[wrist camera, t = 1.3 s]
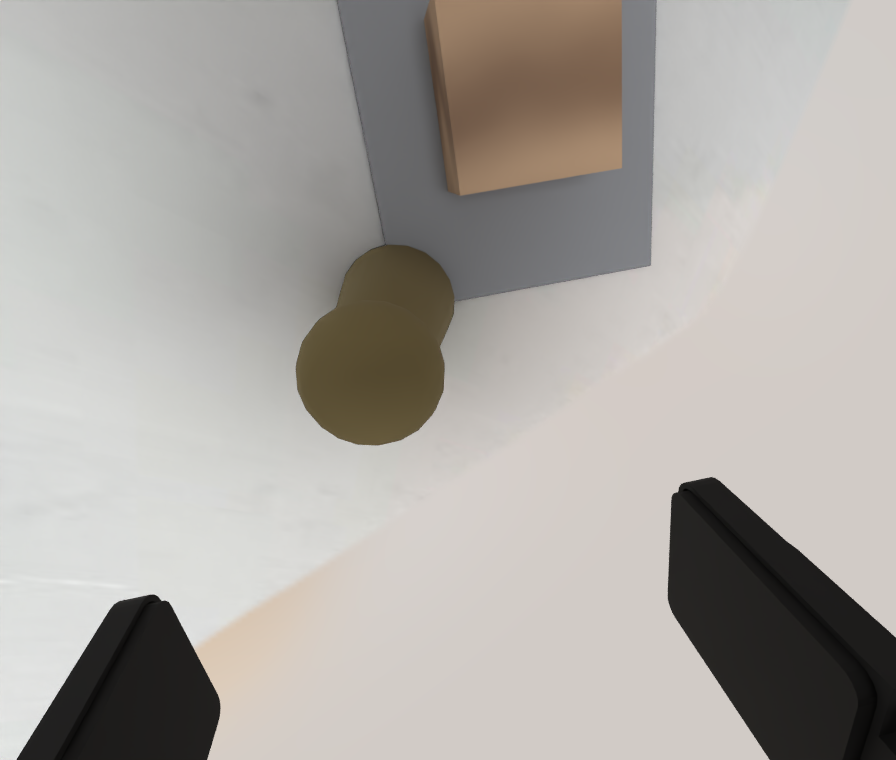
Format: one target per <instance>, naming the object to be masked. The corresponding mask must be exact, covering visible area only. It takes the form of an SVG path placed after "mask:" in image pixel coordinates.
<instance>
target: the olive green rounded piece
mask: <svg viewBox="0 0 896 760" xmlns="http://www.w3.org/2000/svg"><path fill="white" fill-rule="evenodd" d="M454 298H455V297H454V293H453V289H452V286H451V282H450V279H449V278H448V276H447V275H446V273H445V271H444V270H443V268H442V267H441V265H440V264H439V263H438V262H436V261H435V260H434V259H433V258H431V257H430V256H429V255H428V254H426V253H425V252H423V251H420V250H418V249H415V248H412V247H410V246H405V245H386V246H382V247H378V248H375V249H371V250H370V251H368V252H367V253H365V254H364V255H362V256H361V257H359V258H358V259H357V260H356V261H355V262H354V263H353V265H352V266H351V268H350V269H349V270H348V272H347V273H346V275H345V278H344V282H343V285H342V288H341V292H340V295H339V299H338V303H337V306H336V308H335V309H334V310H332V311H331V312H329V313H328V314H326V315H325V316H323V317H322V318H320V319H319V320H318V321H317V323H316V324H315V325H314V326H313V328H312V329H311V330H310V332H309V333H308V335H307V336H306V337H305V339H304V340H303V342H302V344H301V348H300V352H299V355H298V359H297V363H296V378H297V389H298V392H299V395H300V397H301V399H302V401H303V404H304V406H305V408H306V410H307V411H308V412H309V413H310V414H311V416H312V417H313V418H314V419H315V420H316V421H317V423H318V424H319V425H320V426H321V427H322V428H323V429H325V430H327V431H328V432H330V433H331V434H333V435H334V436H336V437H337V438H339V439H342V440H345V441H348V442H352V443H355V444H358V445H382V444H386V443H391V442H395V441H399V440H402V439H404V438H405V437H407V436H409V435H411V434H412V433H414V432H416V431H418V430H419V429H420V428H421V427H422V426H423V424H424V423H425V422H426V421H427V420H428V419H429V418H430V417H431V416H432V414H433V413H434V411H435V410H436V407H437V405H438V402H439V400H440V398H441V395H442V393H443V389H444V360H443V357H442V353H441V350H440V345H441V343H442V341H443V338H444V336H445V334H446V332H447V329H448V327H449V324H450V322H451V320H452V317H453V315H454Z"/></svg>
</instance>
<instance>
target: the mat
mask: <svg viewBox="0 0 896 760" xmlns="http://www.w3.org/2000/svg"><path fill="white" fill-rule="evenodd" d="M429 1H430V0H337V2H338V7H339V12H340V17H341V23H342V28H343V33H344V38H345V43H346V48H347V53H348V58H349V63H350V68H351V73H352V78H353V83H354V88H355V93H356V98H357V103H358V108H359V113H360V118H361V123H362V128H363V133H364V138H365V143H366V148H367V153H368V158H369V163H370V168H371V173H372V178H373V183H374V188H375V193H376V198H377V203H378V208H379V213H380V218H381V223H382V229H383V234H384V239H385V244H386V245H405V246H410V247H412V248H415V249H418V250H420V251H423V252H425V253H426V254H428V255H429V256H430V257H431V258H433V259H434V260H435V261H436V262H438V263H439V264H440V265H441V267H442V268H443V270H444V271H445V273H446V275H447V276H448V278H449V279H450V282H451V286H452V289H453V293H454V297H455V298H454V302H455V301H460V300H466V299H471V298H477V297H482V296H488V295H493V294H498V293H504V292H509V291H515V290H520V289H526V288H531V287H537V286H542V285H548V284H553V283H559V282H564V281H570V280H575V279H580V278H586V277H591V276H597V275H602V274H608V273H613V272H619V271H624V270H630V269H635V268H641V267H646V266H651V231H652V185H653V138H654V92H655V45H656V0H622V168H620V169H614V170H608V171H602V172H596V173H590V174H584V175H579V176H573V177H567V178H561V179H555V180H549V181H543V182H538V183H532V184H526V185H520V186H514V187H508V188H502V189H497V190H491V191H485V192H479V193H473V194H467V195H461V196H460V195H457V194H454V193H451V192H448V187H447V180H446V173H445V166H444V159H443V152H442V145H441V138H440V130H439V123H438V116H437V109H436V102H435V95H434V88H433V81H432V74H431V67H430V60H429V52H428V45H427V38H426V31H425V24H424V18H425V14H426V11H427V8H428V4H429Z"/></svg>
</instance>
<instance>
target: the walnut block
mask: <svg viewBox="0 0 896 760" xmlns="http://www.w3.org/2000/svg"><path fill="white" fill-rule="evenodd" d="M424 24H425V31H426V38H427V45H428V52H429V60H430V67H431V74H432V81H433V88H434V95H435V102H436V109H437V116H438V123H439V130H440V138H441V145H442V152H443V159H444V166H445V173H446V180H447V187H448V192H451V193H454V194H457V195H460V196H461V195H467V194H473V193H479V192H485V191H491V190H497V189H502V188H508V187H514V186H520V185H526V184H532V183H538V182H543V181H549V180H555V179H561V178H567V177H573V176H579V175H584V174H590V173H596V172H602V171H608V170H614V169H620V168H622V0H430V1H429V4H428V8H427V11H426V14H425V18H424Z"/></svg>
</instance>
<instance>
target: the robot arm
mask: <svg viewBox="0 0 896 760" xmlns="http://www.w3.org/2000/svg"><path fill="white" fill-rule="evenodd" d="M669 551H670V552H669V577H668V601H669V605H670V608H671V610H672V613H673V614H674V616H675V618H676V619H677V621H678V623H679V624H680V625H681V627H682V628H683V630H684V631H685V633H686V634H687V636H688V638H689V639H690V641H691V642H692V644H693V645H694V646H695V648H696V649H697V651H698V653H699V654H700V656H701V657H702V659H703V660H704V662H705V663H706V665H707V666H708V668H709V669H710V671H711V672H712V674H713V675H714V676H715V678H716V680H717V681H718V683H719V684H720V685H721V687H722V689H723V690H724V692H725V693H726V695H727V696H728V698H729V699H730V701H731V702H732V704H733V705H734V707H735V708H736V710H737V711H738V713H739V714H740V716H741V717H742V719H743V720H744V722H745V723H746V725H747V726H748V728H749V729H750V731H751V732H752V734H753V735H754V737H755V738H756V740H757V741H758V743H759V744H760V746H761V747H762V749H763V750H764V752H765V753H766V755H767V756H768V758H769V759H770V760H896V637H894V636H893V635H892V634H891V633H890V632H889V631H888V630H887V629H886V628H884V627H883V626H882V625H881V624H880V623H879V622H878V621H877V620H875V619H874V618H873V617H872V616H871V615H870V614H869V613H868V612H867V611H865V610H864V609H863V608H862V607H861V606H860V605H859V604H858V603H857V602H855V601H854V600H853V599H852V598H851V597H850V596H849V595H848V594H847V593H845V592H844V591H843V590H842V589H841V588H840V587H839V586H838V585H837V584H835V583H834V582H833V581H832V580H831V579H830V578H829V577H828V576H827V575H825V574H824V573H823V572H822V571H821V570H820V569H819V568H818V567H817V566H815V565H814V564H813V563H812V562H811V561H810V560H809V559H808V558H806V557H805V556H804V555H803V554H802V553H801V552H800V551H799V550H798V549H796V548H795V547H793V546H792V545H791V544H789V543H788V542H787V541H785V540H784V539H783V538H782V537H781V536H780V535H779V534H778V533H777V532H775V531H774V530H773V529H772V528H771V527H770V526H769V525H768V524H767V523H766V522H764V521H763V520H762V519H761V518H760V517H759V516H758V515H757V514H756V513H754V512H753V511H752V510H751V509H750V508H749V507H748V506H747V505H745V504H744V503H743V502H742V501H741V500H740V499H739V498H738V497H737V496H736V495H734V494H733V493H732V492H731V491H730V490H729V489H728V488H727V487H725V485H723V484H722V483H721V482H720V481H719V480H717V479H716V478H712V477H710V478H705V479H700V480H696V481H691V482H686V483H683V484H681V485H680V487H679V491H678V493H674V494H673V495H672V500H671V525H670V550H669ZM219 717H220V700H219V697H218V694H217V692H216V690H215V688H214V687H213V685H212V683H211V681H210V679H209V677H208V675H207V673H206V671H205V669H204V668H203V666H202V664H201V662H200V660H199V658H198V656H197V654H196V652H195V650H194V648H193V646H192V645H191V643H190V641H189V639H188V637H187V635H186V633H185V631H184V629H183V627H182V625H181V624H180V622H179V620H178V618H177V616H176V614H175V612H174V610H173V608H172V606H171V605H170V603H169V602H167V601H161V600H160V598H159V597H158V596H156V595H147V596H142V597H137V598H133V599H128V600H123V601H119V602H117V603H116V604H114V605H113V607H112V608H111V609H110V610H109V612H108V614H107V615H106V617H105V618H104V620H103V622H102V623H101V625H100V626H99V628H98V630H97V631H96V633H95V635H94V636H93V638H92V639H91V641H90V643H89V644H88V646H87V647H86V649H85V651H84V652H83V654H82V655H81V657H80V659H79V660H78V662H77V663H76V665H75V667H74V668H73V670H72V671H71V673H70V675H69V676H68V678H67V679H66V681H65V683H64V684H63V686H62V687H61V689H60V691H59V692H58V694H57V695H56V697H55V699H54V700H53V702H52V703H51V705H50V707H49V708H48V710H47V712H46V713H45V715H44V716H43V718H42V720H41V721H40V723H39V724H38V726H37V728H36V729H35V731H34V732H33V734H32V736H31V737H30V739H29V740H28V742H27V744H26V745H25V747H24V748H23V750H22V752H21V753H20V755H19V756H18V758H17V760H207V758H208V755H209V751H210V748H211V745H212V741H213V738H214V734H215V731H216V728H217V725H218V720H219Z"/></svg>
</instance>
